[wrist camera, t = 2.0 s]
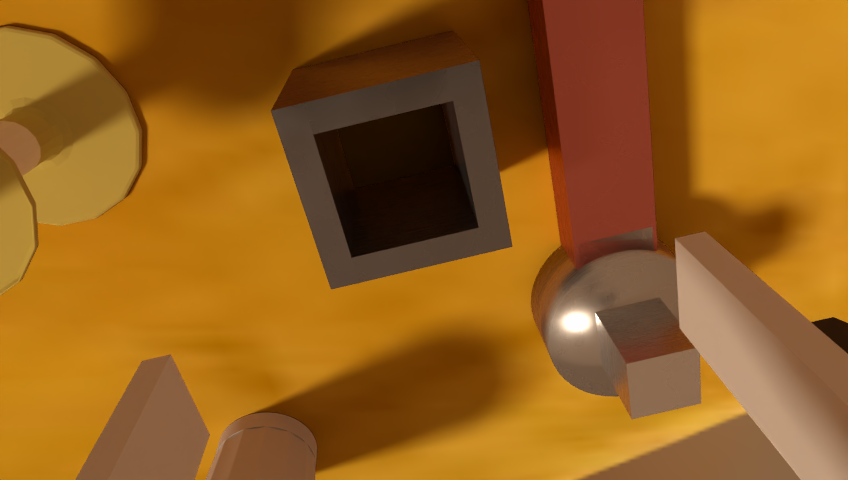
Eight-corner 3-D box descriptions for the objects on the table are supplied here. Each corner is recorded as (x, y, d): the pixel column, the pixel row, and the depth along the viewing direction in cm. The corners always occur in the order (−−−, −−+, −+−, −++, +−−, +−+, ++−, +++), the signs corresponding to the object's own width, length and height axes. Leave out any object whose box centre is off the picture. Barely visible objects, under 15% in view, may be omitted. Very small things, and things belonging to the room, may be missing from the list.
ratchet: (479, 1, 30) (517, 24, 22) (663, -44, 30) (766, -37, 22) (541, 368, 40) (583, 470, 32) (680, 336, 40) (754, 431, 32)
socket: (293, 69, 31) (270, 110, 23) (452, 30, 30) (479, 60, 23) (338, 215, 34) (331, 289, 27) (481, 180, 34) (512, 246, 27)
